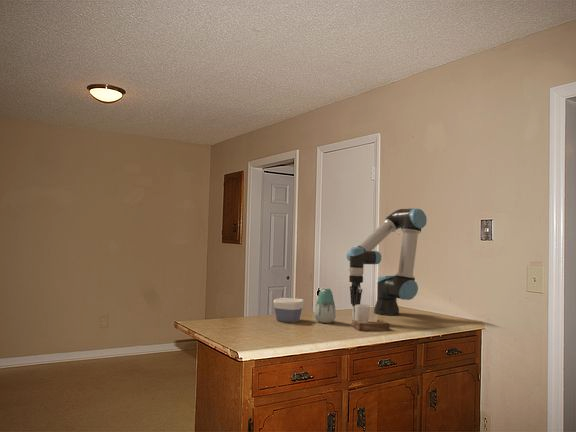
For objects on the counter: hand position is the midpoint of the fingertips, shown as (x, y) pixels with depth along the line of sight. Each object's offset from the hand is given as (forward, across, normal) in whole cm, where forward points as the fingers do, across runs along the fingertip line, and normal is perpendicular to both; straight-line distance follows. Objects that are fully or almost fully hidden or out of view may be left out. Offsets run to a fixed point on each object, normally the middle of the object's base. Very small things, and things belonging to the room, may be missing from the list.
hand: (354, 317), depth 268 cm
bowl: (+2, -4, -37) cm, 37 cm away
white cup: (+2, +9, 0) cm, 9 cm away
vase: (+2, +1, -18) cm, 18 cm away
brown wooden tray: (+2, +20, 0) cm, 20 cm away
